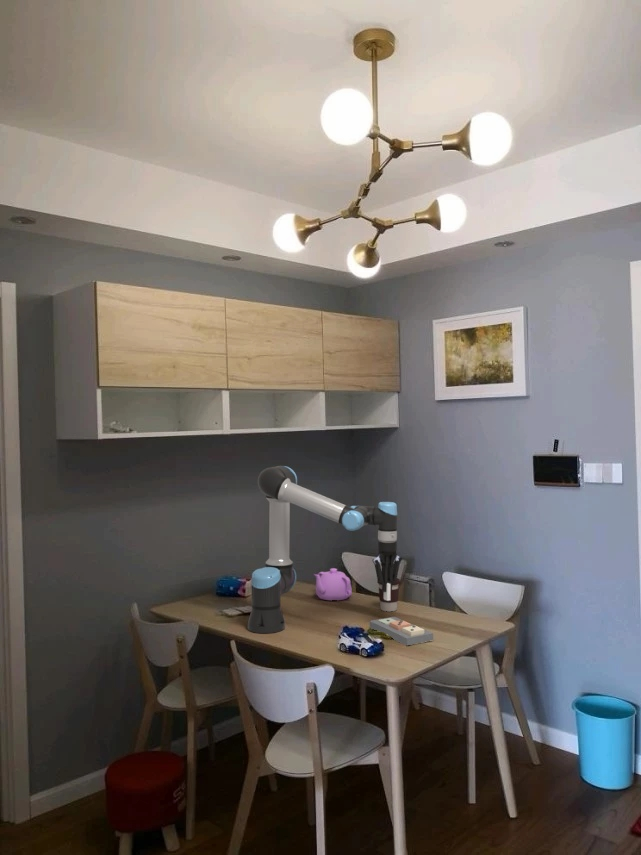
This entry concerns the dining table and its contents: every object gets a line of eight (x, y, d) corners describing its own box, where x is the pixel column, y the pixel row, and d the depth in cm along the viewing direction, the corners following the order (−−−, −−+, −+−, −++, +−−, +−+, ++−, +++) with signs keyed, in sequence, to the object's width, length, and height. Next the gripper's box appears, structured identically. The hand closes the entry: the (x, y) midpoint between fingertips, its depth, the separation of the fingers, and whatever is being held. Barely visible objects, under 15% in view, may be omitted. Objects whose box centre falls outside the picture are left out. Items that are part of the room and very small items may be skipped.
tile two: (411, 639, 255) (411, 631, 255) (402, 635, 260) (402, 627, 260) (424, 637, 257) (424, 628, 257) (414, 633, 263) (414, 624, 263)
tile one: (386, 631, 270) (386, 623, 270) (377, 627, 275) (377, 619, 275) (398, 629, 272) (398, 620, 272) (390, 625, 278) (390, 617, 278)
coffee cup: (404, 611, 300) (404, 576, 300) (385, 614, 295) (384, 579, 295) (392, 605, 309) (392, 572, 308) (373, 608, 304) (373, 574, 304)
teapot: (297, 599, 322) (297, 569, 322) (329, 590, 338) (329, 562, 338) (331, 607, 307) (331, 576, 307) (363, 598, 323) (362, 569, 322)
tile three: (398, 633, 262) (398, 625, 262) (389, 629, 267) (389, 621, 267) (411, 631, 265) (411, 623, 265) (402, 627, 270) (402, 619, 270)
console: (407, 646, 252) (406, 638, 252) (369, 628, 275) (369, 620, 275) (433, 641, 257) (433, 633, 257) (394, 623, 280) (394, 616, 280)
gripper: (378, 543, 267) (378, 603, 267) (406, 541, 273) (405, 600, 273) (368, 540, 274) (368, 599, 274) (395, 538, 280) (395, 595, 280)
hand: (386, 599), depth 274 cm, fingers closed
